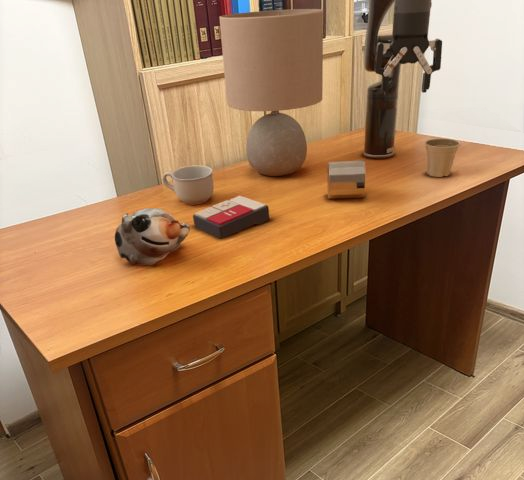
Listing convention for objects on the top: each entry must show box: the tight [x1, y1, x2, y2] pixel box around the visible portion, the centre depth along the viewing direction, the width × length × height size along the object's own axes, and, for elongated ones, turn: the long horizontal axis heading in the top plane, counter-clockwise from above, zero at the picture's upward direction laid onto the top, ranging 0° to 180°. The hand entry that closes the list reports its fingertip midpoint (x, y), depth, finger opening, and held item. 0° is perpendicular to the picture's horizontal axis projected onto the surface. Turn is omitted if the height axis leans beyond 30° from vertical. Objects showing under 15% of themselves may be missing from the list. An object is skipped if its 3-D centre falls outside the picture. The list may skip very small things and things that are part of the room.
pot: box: [326, 160, 367, 200], centre depth 139 cm, size 9×12×9 cm
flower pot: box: [424, 138, 461, 178], centre depth 150 cm, size 9×9×9 cm
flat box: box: [192, 195, 270, 239], centre depth 129 cm, size 11×4×15 cm
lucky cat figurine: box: [114, 207, 191, 266], centre depth 113 cm, size 15×12×14 cm
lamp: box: [219, 8, 324, 177], centre depth 151 cm, size 27×27×41 cm
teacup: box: [161, 164, 215, 206], centre depth 144 cm, size 14×11×8 cm
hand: (404, 93), depth 123 cm, fingers open, 8 cm apart
